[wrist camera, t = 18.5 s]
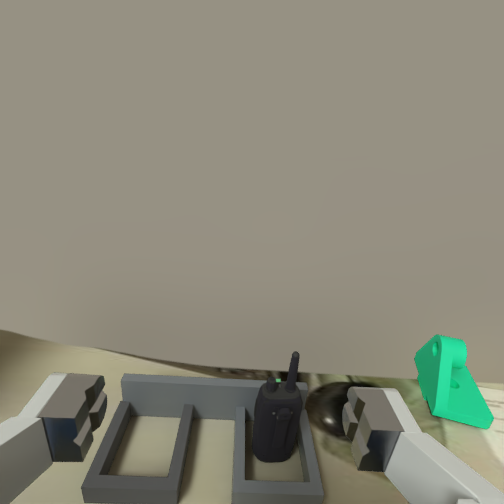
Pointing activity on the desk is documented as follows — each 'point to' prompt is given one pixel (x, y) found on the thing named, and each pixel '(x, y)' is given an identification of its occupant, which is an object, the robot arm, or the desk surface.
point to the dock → (239, 409)
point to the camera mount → (450, 382)
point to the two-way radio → (277, 416)
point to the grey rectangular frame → (135, 487)
